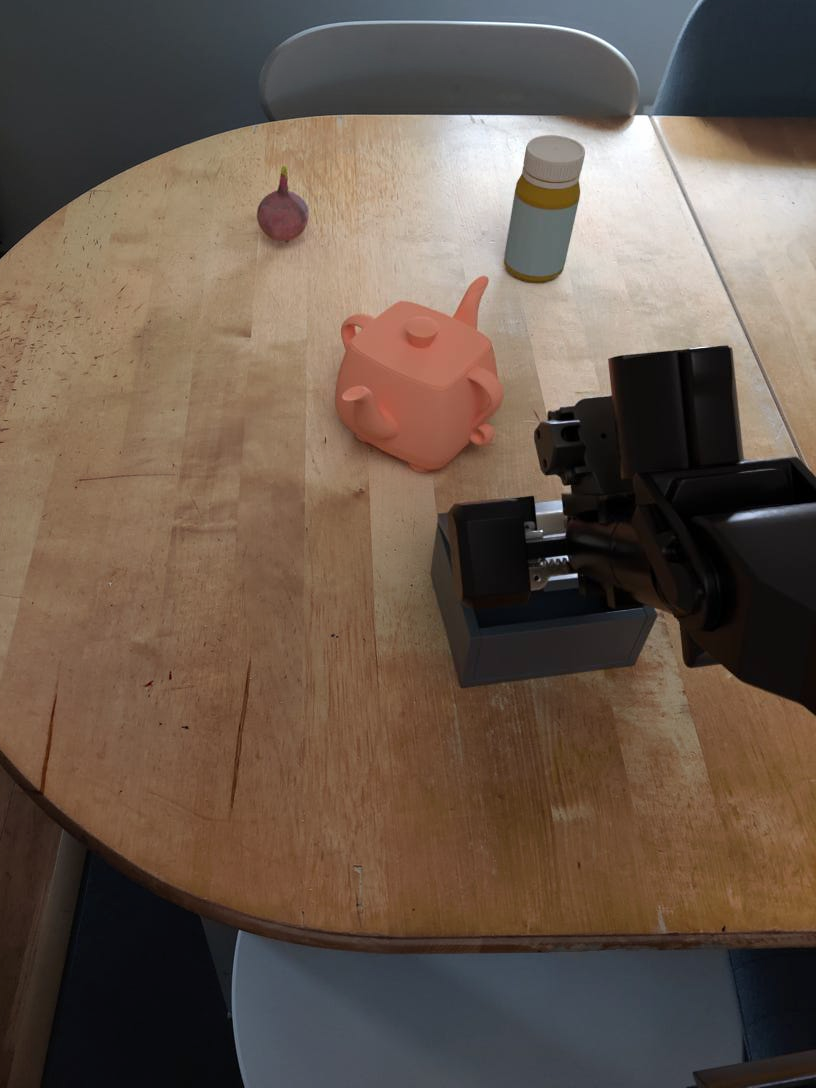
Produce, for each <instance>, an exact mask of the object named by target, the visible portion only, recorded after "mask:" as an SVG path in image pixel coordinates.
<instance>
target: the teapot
mask: <svg viewBox="0 0 816 1088" xmlns="http://www.w3.org/2000/svg"><path fill="white" fill-rule="evenodd" d="M489 283H490V282H489V277H488V276H487V275H482V276H479V277H477V278H476V279H475V280H473V281H472V282H471V283H470V285H469V286H468V287H467V289H466V291H465V293H464V295H463V296H462V299H461V300H460V303H459V305H458V306H457V308H456V310H455V312H454V314H453V316H451V315H448V314H445V313H444V312H441V311H438V310H436V309H433V308H430V307H428V306H425V305H422V304H419V303H415V302H412V301H408V300H399V301H397V302H395V303H394V304H393V305H390V306H389V307H388V308H386V309H385V310H384V311H383V312H381V313H380V314H379V315H378V316H376V317H374V316H372V315H370V314H368V313H364V312H363V313H362V312H360V313H359V312H358V313H354V314H351V315H349V316H348V317H347V318H346V319H345V320H343V322H342V324H341V327H340V337H341V341H342V344H343V347H344V349H345V352H344V355H343V357H342V360H341V363H340V365H339V370H338V373H337V378H336V385H335V392H334V407H335V410H336V412H337V415H338V416H339V418H340V420H341V421H342V423H343V424H344V425H345V426H346V427H347V428H348V429H350V430H351V431H352V432H354V435H355V437H356V439H357V440H358V441H360V442H361V443H367V444H368V443H369V444H371V445H372V446H374V447H376V448H377V449H378V450H381V451H383V452H385V453H387V454H389V455H391V456H393V457H395V458H398V459H400V460H402V461H405V462H407V464H408V466H409V467H410V468H411V469H412V470H413V471H415V472H419V473H427V472H429V471H432V470H440V469H441V468H444V467H445V466H446V465H447V464H448V463H449V462H450V461H452V460H453V459H454V458H455V457H456V456H457V455H458V454H460V453H461V451H462V450H463V449H464V448H465V447H466V446H467V445H468V444H469V443H470V442H471V443H473V444H474V445H476V446H481V447H482V446H483V447H484V446H487V445H489V444H491V443H492V442H493V440H494V438H495V437H496V431H495V429H494V427H493V426H492V425H491V424H489V423H487V421H488V420H489V419H490V418H492V417H493V416H494V415H495V414H496V412H497V411H499V409H500V407H501V406H502V404H503V401H504V397H505V391H504V388H503V385H502V383H501V382H500V380H499V377H498V367H497V362H496V360H497V359H496V355H495V349H494V346H493V341H492V340H491V339H490V338H489V337H488V336H486V335H485V334H483V333H482V332H480V331H479V330H478V319H479V309H480V304H481V301H482V298H483V297H482V296H483V295H484V294H485V291H486V289H487V288H488V285H489ZM356 327H357V328H360V329H361V330H360V331H358V332H357V331H356Z"/></svg>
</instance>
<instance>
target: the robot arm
mask: <svg viewBox="0 0 816 1088" xmlns="http://www.w3.org/2000/svg"><path fill="white" fill-rule="evenodd" d="M607 363H608V372H609V382H610V393H611V395H604V396H603V395H602V396H593V397H584V398H582V399H580V400H578V401H577V402H576V403H575V404H574V405H570V406H569V405H568V406H561V407H559V409H549V410H548V411H547V413H546V418H547V419H546V421H544V420H543V421H541V422H539V423H538V425H537V427H536V428H535V429H534V430H533V431H534V433H533V434H534V435H533V441H534V446H535V450H536V454H537V459H538V464H539V468H540V471H541V473H542V474H543V475H544V476H545V477H547V476H557V477H558V478H559V479H560V481H561V484H562V486H564V487H567V486H570V492H562V493H560V497H561V500H562V507H563V514H564V515H565V517H564V527H565V529H566V535H565V536H557V537H549V538H543V531H542V530H538V529H537V520H536V510H535V503H536V500H535V496H534V495H528V496H527V495H526V496H520V497H519V496H518V497H508V498H492V499H483V500H474V501H465V502H456V503H454V504H453V505H452V506H451V507H450V509H448V511H447V512H446V513H447V523H448V532H449V542H450V552H451V562H452V572H453V581H454V591H455V597H456V598H457V599H458V600H459V601H461V602H462V603H463V604H464V605H466V606H467V607H469V608H470V609H472V610H478V609H486V608H495V607H503V606H511V605H519V604H527V603H528V601H529V597H530V594H538V593H544V588H543V587H545V585H546V584H547V582H548V579H549V578H550V577H553V576H561V575H570V574H577V575H578V584H579V594H580V595H582V596H585V597H590V596H598V595H606V594H607V603H608V606H609V607H612V608H614V609H620V608H628V607H636V606H644V605H648V606H651V607H653V608H655V610H659V611H661V612H664V613H667V614H670V615H672V616H673V618H675V619H676V620H677V622H678V625H679V633H680V643H681V652H682V661H683V664H684V666H686V668H689V669H698V668H705V667H711V666H720V665H721V666H722V667H723V668H725V669H726V670H727V671H728V673H730V674H731V675H732V676H734V678H736V679H737V680H738V681H739V682H741V683H743V684H745V685H748V686H751V687H752V688H755V689H758V690H761V691H764V692H766V693H768V694H771V695H774V696H776V697H779V698H782V699H784V700H787V701H790V702H792V703H795V704H798V705H800V706H801V707H804V708H805V709H806V710H807V711H808V712H810V713H811V714H812V715H813V716H814V717H816V475H815V474H814V473H813V471H811V470H810V469H809V467H807V465H806V464H805V463H804V462H803V461H802V460H801V459H800V458H799V457H798V456H796V455H792V456H781V457H774V458H773V457H771V458H763V459H762V458H761V459H755V458H754V459H749V458H748V459H747V458H745V456H744V447H743V438H742V428H741V418H740V410H739V409H740V408H739V407H740V406H739V398H738V391H737V390H738V389H737V380H736V378H737V377H736V370H735V369H736V368H735V359H734V351H733V347H731V346H729V344H722V345H712V346H700V347H691V348H685V349H684V348H683V349H674V350H664V351H663V350H662V351H652V352H651V351H650V352H642V353H633V354H632V353H631V354H621V355H616V356H612V357H609V358H608V359H607ZM566 555H567V556H568V561H567V559H566V558H565V557H564V558H562V562H561V560H560V559H559V558H556V562H554V560H553V559H550V561H549V563H548V561H547V560H546V558H549V557H558V556H566ZM541 563H543V565H541ZM692 1077H693V1080H694V1082H695V1085H690V1086H686V1087H685V1088H816V1049H811V1050H806V1051H800V1052H794V1053H788V1054H783V1055H778V1056H773V1057H772V1056H771V1057H767V1058H766V1057H765V1058H760V1059H755V1060H750V1061H745V1062H739V1063H733V1064H727V1065H722V1066H717V1067H711V1068H705V1069H700V1070H694V1071H692Z"/></svg>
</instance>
